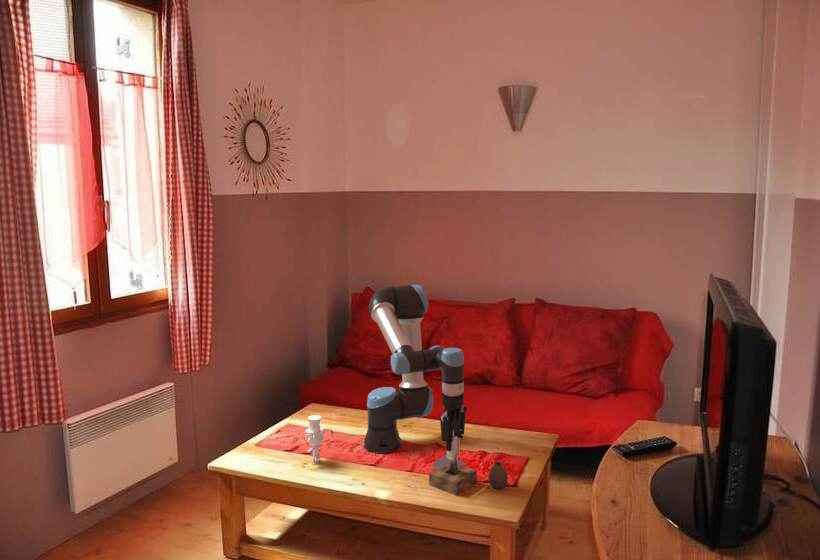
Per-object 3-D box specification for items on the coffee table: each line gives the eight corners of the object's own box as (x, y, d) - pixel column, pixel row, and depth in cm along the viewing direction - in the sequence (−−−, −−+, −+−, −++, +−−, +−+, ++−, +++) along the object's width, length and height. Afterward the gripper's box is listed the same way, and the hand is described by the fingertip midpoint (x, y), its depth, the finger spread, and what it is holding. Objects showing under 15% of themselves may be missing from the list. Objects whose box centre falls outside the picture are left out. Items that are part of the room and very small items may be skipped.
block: (429, 486, 230) (429, 472, 229) (449, 474, 239) (449, 461, 238) (456, 496, 222) (456, 483, 222) (476, 483, 232) (476, 470, 231)
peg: (447, 468, 229) (447, 436, 227) (452, 465, 232) (452, 433, 230) (454, 471, 227) (454, 438, 226) (459, 468, 230) (459, 435, 228)
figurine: (314, 454, 257) (313, 411, 254) (331, 458, 254) (330, 414, 251) (300, 466, 247) (298, 421, 244) (317, 469, 244) (316, 423, 241)
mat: (429, 465, 246) (429, 464, 246) (445, 456, 253) (445, 456, 253) (450, 473, 240) (450, 472, 239) (466, 464, 247) (466, 463, 247)
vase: (486, 482, 232) (486, 459, 231) (505, 481, 233) (505, 458, 232) (490, 491, 226) (490, 468, 224) (509, 490, 226) (510, 467, 225)
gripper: (447, 401, 217) (448, 467, 220) (474, 389, 229) (474, 452, 232) (430, 396, 222) (430, 461, 225) (457, 385, 234) (457, 447, 237)
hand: (453, 457), depth 229 cm, fingers closed on peg, 3 cm apart
